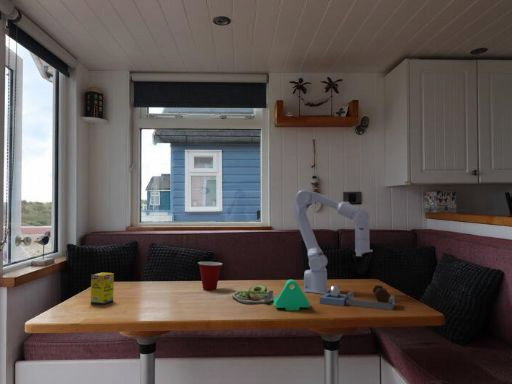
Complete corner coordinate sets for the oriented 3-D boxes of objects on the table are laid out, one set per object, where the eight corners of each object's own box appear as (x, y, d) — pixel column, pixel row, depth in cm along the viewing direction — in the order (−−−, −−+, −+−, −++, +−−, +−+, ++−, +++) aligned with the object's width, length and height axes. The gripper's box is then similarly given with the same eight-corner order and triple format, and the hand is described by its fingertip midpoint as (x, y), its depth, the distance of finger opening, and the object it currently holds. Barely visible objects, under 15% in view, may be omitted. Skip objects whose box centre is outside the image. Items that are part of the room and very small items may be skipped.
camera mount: (305, 304, 145) (305, 277, 145) (309, 310, 137) (309, 280, 138) (273, 305, 144) (273, 277, 144) (275, 310, 136) (275, 281, 137)
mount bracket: (345, 304, 144) (345, 295, 144) (350, 300, 151) (350, 291, 151) (392, 310, 136) (392, 300, 137) (394, 304, 144) (394, 295, 144)
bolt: (379, 298, 162) (384, 306, 148) (368, 291, 163) (372, 298, 149) (386, 286, 162) (392, 293, 148) (375, 279, 163) (380, 285, 149)
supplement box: (103, 305, 144) (104, 275, 144) (90, 304, 145) (90, 274, 146) (113, 301, 149) (114, 272, 150) (100, 300, 151) (101, 272, 151)
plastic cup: (227, 290, 169) (227, 262, 170) (204, 293, 163) (204, 264, 164) (215, 285, 178) (215, 259, 179) (193, 288, 172) (193, 261, 173)
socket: (319, 303, 146) (319, 297, 146) (326, 298, 154) (326, 292, 154) (343, 306, 142) (343, 300, 142) (349, 300, 150) (349, 294, 150)
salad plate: (287, 304, 146) (287, 291, 146) (242, 308, 140) (242, 295, 141) (270, 293, 164) (269, 282, 165) (229, 296, 159) (229, 285, 159)
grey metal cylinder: (329, 302, 147) (329, 286, 147) (331, 300, 150) (331, 285, 150) (338, 303, 146) (338, 287, 146) (340, 301, 149) (340, 285, 149)
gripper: (368, 240, 152) (369, 275, 152) (375, 237, 165) (376, 270, 164) (350, 239, 155) (351, 274, 155) (358, 237, 168) (359, 268, 168)
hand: (362, 271), depth 160 cm, fingers open, 7 cm apart
